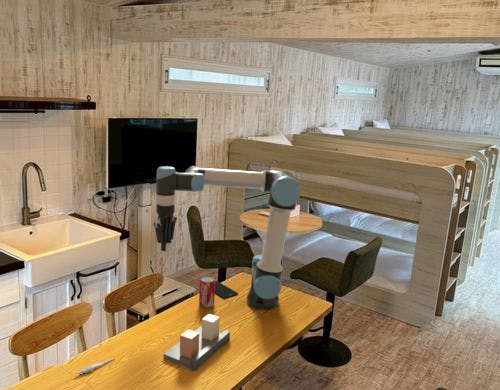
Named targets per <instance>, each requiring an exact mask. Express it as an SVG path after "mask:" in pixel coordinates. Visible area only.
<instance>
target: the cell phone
mask: <svg viewBox="0 0 500 390" xmlns="http://www.w3.org/2000/svg"><path fill="white" fill-rule="evenodd" d="M214 281H215V295H217V296H218V297H220V299H221V298H222V299H223V300H228V299H230V298H234V297H235V296H238V295H239V292H237V291H235V290H234V289H231V288H230V287H228V286H226V285H225V284H223V283H221V282H219V281H217V280H214Z"/></svg>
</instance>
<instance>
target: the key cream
mask: <svg viewBox="0 0 500 390" xmlns="http://www.w3.org/2000/svg"><path fill="white" fill-rule="evenodd" d="M220 318H221V317H220V316H217V315H215V314H211V313H208V314H206V316H204V317H203V318H201V326H202V338H205V339H207V340H210V341H213V340H214V339H215V338H217V337H218V336H219V332H220V320H221V319H220Z"/></svg>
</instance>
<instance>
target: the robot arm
mask: <svg viewBox="0 0 500 390" xmlns="http://www.w3.org/2000/svg"><path fill="white" fill-rule="evenodd" d="M155 180H156V205H155V206H156V209H155V210H156V213H157V221H156V222H153V227H154V228H155V235H156V242H157V243H158V244H161V245H160V248H161V249H160V250H161V258H164V259H169V258H170V243H172V242H173V241H172V240H173V239H174V234H175V229H176V228H175V227H176V222H177V221H178V220H177V219H178V217H177V216H174V214H175V212H176V210H175V203H176V191H178V192H179V191H181V192H183V191H184V192H194V193H196V192H203V191H204V189H205V186H206V187H207V186H210V187H221V188H222V187H226V188H238V189H250V190H251V189H252V190H253V189H254V190H261V191H262V192H263V193H264V192H265V193H269V197H268V201H267V205H268V206H269V208H270V210H269V215H268V219H267V220H268V222H267V226H266V231H265V235H264V243H263V248H262V252H261V254H256V255H253V258H252V262H251V264H252V265H251V281H250V283H251V284H250V288H249V290H248V293H247V295H246V303H247V305H248V306H250V307H251V308H254V309H257V310H270V309H271V310H272V309H275V308H276V307H277V306H278V305H279V301H280V299H279V294H280V293H281V290H282V282H281V281H282V277H283V276H282V275H283V270H284V267H283V266H282V263H281V261H282V257H283V253H284V247H285V243H286V238H287V233H288V227H289V224H290V223H289V222H290V218H291V213H292V212H294V211H295V210H296V205H297V203H298V202H297V201H298V200H299V198H300V196H301V186H300V183H299V182H298V180H297V179H296V178H295V176H294V175H293V174H292V173H291V172H289V171H286V170H277V169H276V170H273V169H271V170H270V169H269V170H268V169H263V171H252V170H250V171H249V170H237V169H235V170H234V169H220V168H206V167H205V168H204V167H198V166H196V165H191V166H189V167H188V168H186V169H185V172H178V171H176V168H175V167H173V166H168V165H166V166H163V165H162V166H159V167H158V168H157V169H156V179H155Z"/></svg>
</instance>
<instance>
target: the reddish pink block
mask: <svg viewBox="0 0 500 390" xmlns="http://www.w3.org/2000/svg"><path fill="white" fill-rule="evenodd" d="M179 342H180V355H182V356H184V357H187V358H190V359H192V358H193V357H194V356H195V355H196V354H198V353H199V333H198V332H195V330H192V329H189V328H188V329H186V330H185V331H184V332H182V333H181V334H180V335H179Z"/></svg>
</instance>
